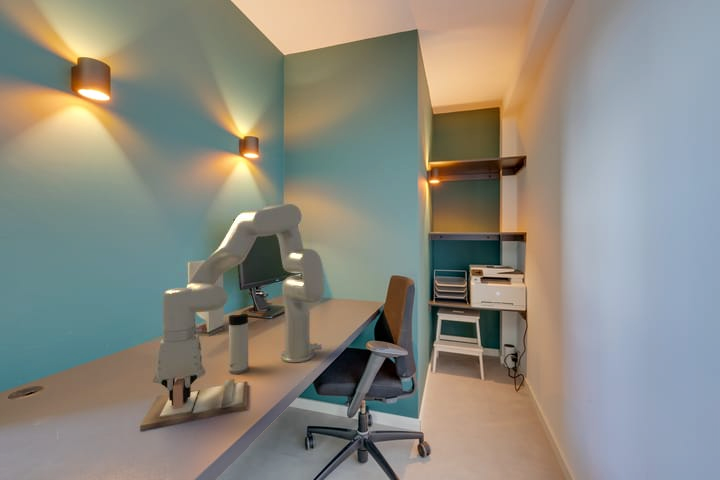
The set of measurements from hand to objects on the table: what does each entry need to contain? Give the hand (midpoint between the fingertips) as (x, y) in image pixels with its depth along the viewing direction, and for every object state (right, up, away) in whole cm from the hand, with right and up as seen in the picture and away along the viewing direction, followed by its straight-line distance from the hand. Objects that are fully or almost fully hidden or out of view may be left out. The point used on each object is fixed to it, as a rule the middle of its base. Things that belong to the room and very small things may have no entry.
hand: (180, 400), depth 79 cm
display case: (-27, -2, +65) cm, 70 cm away
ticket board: (+5, -2, +2) cm, 5 cm away
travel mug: (+7, -2, +23) cm, 24 cm away
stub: (0, -1, 0) cm, 1 cm away
